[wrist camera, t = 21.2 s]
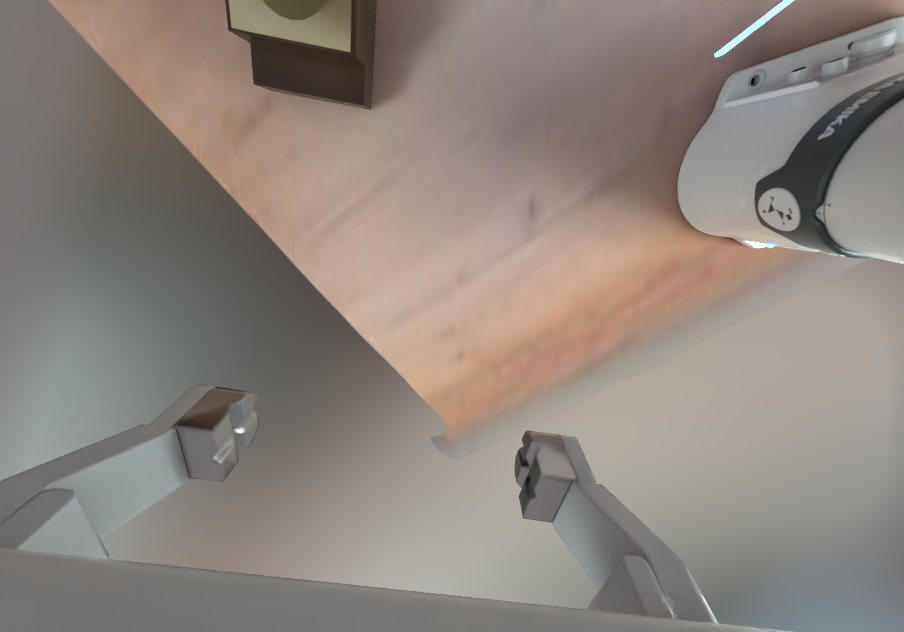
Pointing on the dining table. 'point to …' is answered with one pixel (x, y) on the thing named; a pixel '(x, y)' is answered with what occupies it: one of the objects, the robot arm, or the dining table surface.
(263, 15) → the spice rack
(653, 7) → the dining table surface
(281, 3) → the cork
